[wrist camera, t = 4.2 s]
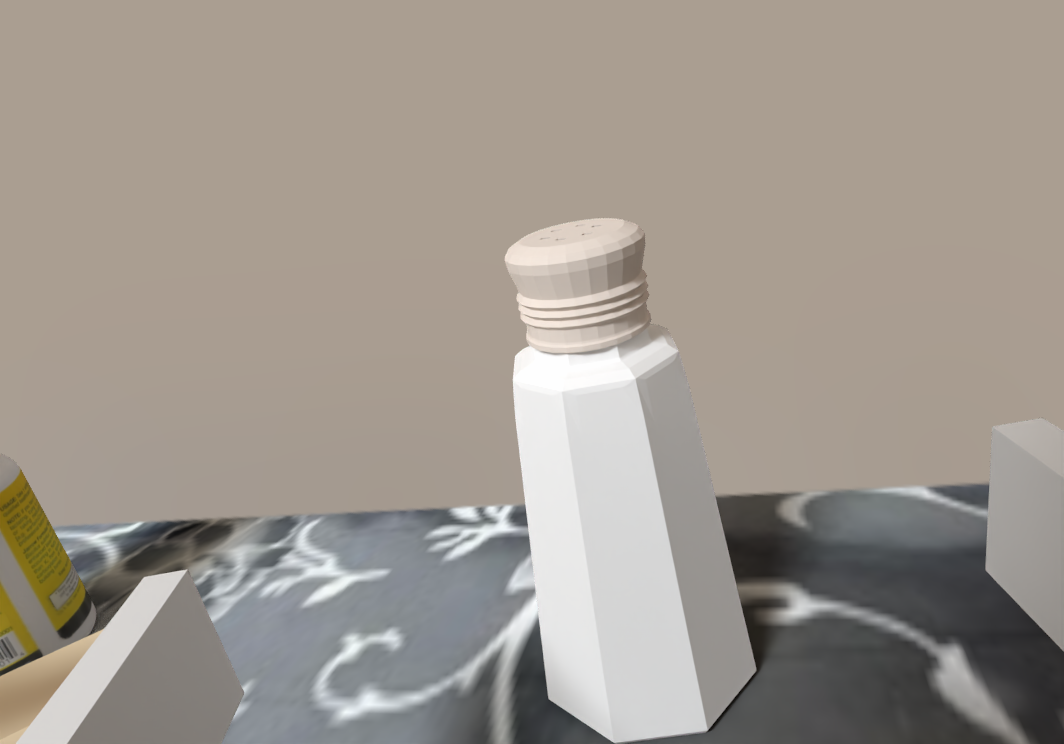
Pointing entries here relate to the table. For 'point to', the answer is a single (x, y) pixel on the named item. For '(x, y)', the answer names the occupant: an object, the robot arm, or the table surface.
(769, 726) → the table surface
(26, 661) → the supplement bottle
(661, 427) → the pepper shaker
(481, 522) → the table surface
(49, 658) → the hole block
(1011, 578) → the robot arm
